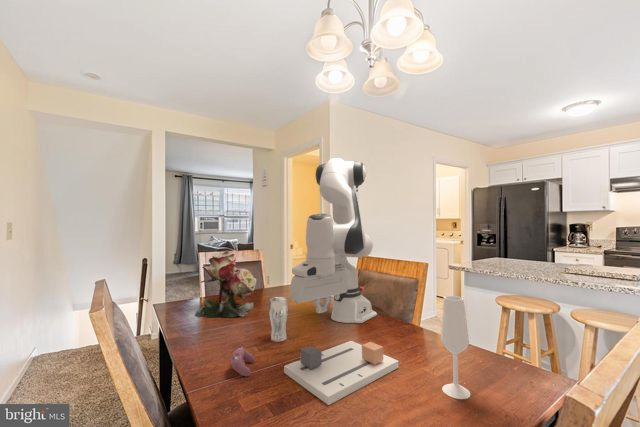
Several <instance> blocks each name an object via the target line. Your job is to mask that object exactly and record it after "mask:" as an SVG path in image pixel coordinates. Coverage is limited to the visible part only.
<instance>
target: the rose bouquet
mask: <svg viewBox="0 0 640 427" xmlns="http://www.w3.org/2000/svg"><path fill="white" fill-rule="evenodd" d="M236 260H237V256H236V254H235V253H233V251H231V250H230V251H229V250H225V251H223V252H222V253H220V254H217V256H214V255H213V256H211V257H210V258H209V259H208V263H210V264H209V265H207V266H201V269H203V270H205V272H206V274H207V275H208V276H209V277H210V278H209V279H204V280H202V281H200V283H210V282H211V283H212V282H216V281H218V283H217V284H218V285H219V292H218V301H214V300H210V299H207V298H205V299H203V301H204V304H205V305H206V306H205V305H202V306H201V307H200V308H199V309H197V310H196V313H195V315H194V317H195V316H196V317H195V318H198V317H202V318H206V319H216V318H217V319H218V318H237V317H244V318H245V315H251V313H250V314H249V313H248V311H252V310H253V309H254V305H255V304H254V302H245V303H244V304H243V303H242V304H243V305H236V304H237V302H236V300H235V298H234V297H235V295H236V296H237V297H238V298H239V299H240V300H243V301H245V299H246V297H249V296H251V295H252V294H254V290H255V288H256V285H257V281H258V279H257V278H255V277H254V276H253V274H252V272H251V271H250V270H249V269H247V268H244V267H243V268H239V267H236V266H237V262H236ZM224 296H225V298H226V299H225V300H222V298H223V297H224ZM240 313H241V314H240ZM242 314H243V315H242Z"/></svg>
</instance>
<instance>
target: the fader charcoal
mask: <svg viewBox="0 0 640 427" xmlns="http://www.w3.org/2000/svg"><path fill="white" fill-rule="evenodd" d="M321 352H322V350H321V349H318V348H317V347H315V346H313V345H308V346H306V347H303V348H300V360H301V363H302V364H303V365H305V366H306V367H308V368H310V369H313V368H315V367H317V366H320V365H322V354H321Z"/></svg>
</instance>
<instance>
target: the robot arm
mask: <svg viewBox="0 0 640 427" xmlns="http://www.w3.org/2000/svg"><path fill="white" fill-rule="evenodd" d="M314 175H315V176H314V177H315V181H316V184H317V185H318V186H319V193H320V195H321V197H322V198H323V199H324V200H325V201H326V202H327V203H330V204H331V205H332V215H331V214H329V213H315V214H312V215H310V216H308V217H307V221H306V230H305V245H306V248H307V250H306V255H305V256H306V257H305V260H304V261H302V262H301V263H299V264H296V265H295V266H293V267H292V269H291V273H292V274H293V276H292V277H291V280H290V290H289V291H290V299H291V301H292V302H294V303H297V304H303V303H306V302H307V303H308V302H310V301H312V304H314V306H315V313H317V314H321V313H326V312H327V310H328V308H327V307H328V305H329V302H330V299H331V298H330V297H332V296H333V303H332V309H331V310H332V312H331V316H330V318H331V320H333V321H334V322H338V323H347V324H350V323H351V324H352V323H353V324H354V323H355V324H362V323H364V322H366V321H368V320H370V319H372V318H374V317H376V316H378V313H377V312H376V311H375V310H373V308H372V303H371V301H370V300H369V299H367V298H366V297H365V296H364V295H363V294H362V293H361V292H365V289H366V287H364V286H359V273H358V270H357V268H356V267H355V266H354V265H353V264H351V263H350V262H349V261H348V258H363V257H369V255H370V254H371V253H372V251H373V246H374V244H373V240H372V238H371V237H370V236H369V235H368V234H367V233H366V232H365V230H364V228H363V226H362V218H361V212H360V206H359V201H358V197H357V192H356V189H359V186H361V185H362V184H363V183H364V182H365V180H366V176H367V171H366V168H365V165H364V163H363V162H362V161H359V160H351V161H350V160H349V161H348V160H343V159H342V158H339V157H333V158H330V159H328V161H326V162H325V163H322V164H319V165H318V166H317V167H316V170H315V174H314ZM355 188H356V189H355ZM321 299H322V302H321ZM320 303H321V304H320Z"/></svg>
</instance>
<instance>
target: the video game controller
mask: <svg viewBox="0 0 640 427" xmlns="http://www.w3.org/2000/svg"><path fill="white" fill-rule="evenodd" d="M255 361H256V359H255V356H254V355H253V354H252V353H250V352H249V351H248V350H247V349H246V348H243V347H240V348H239V347H238V348H237V349H235V350H234V351H233V353H232V358H231V359H230V365H231V367H232V370H234V371H235V372H237V373H238V374H239V375H241V376H244V377H250V376H251V374H252V371H251V369H250V368H249V367H247V365H246V362H247V363H251V364H252V363H254V362H255Z"/></svg>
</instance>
